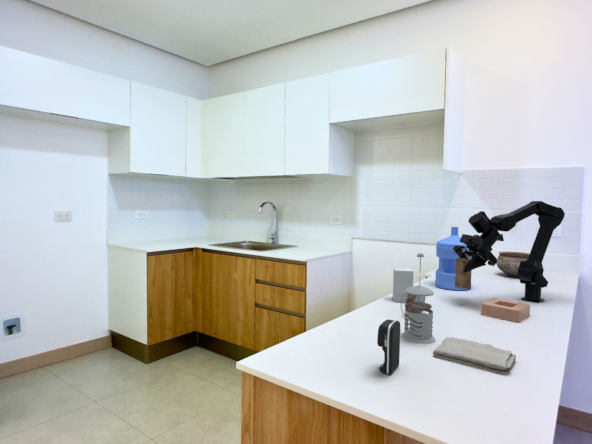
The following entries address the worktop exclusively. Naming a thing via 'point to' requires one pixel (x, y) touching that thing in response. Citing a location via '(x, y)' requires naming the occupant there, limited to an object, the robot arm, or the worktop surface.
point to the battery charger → (389, 344)
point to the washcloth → (475, 355)
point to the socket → (505, 310)
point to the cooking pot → (511, 262)
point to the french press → (418, 315)
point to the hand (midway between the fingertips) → (460, 270)
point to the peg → (462, 274)
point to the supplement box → (401, 283)
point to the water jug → (448, 260)
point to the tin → (415, 300)
